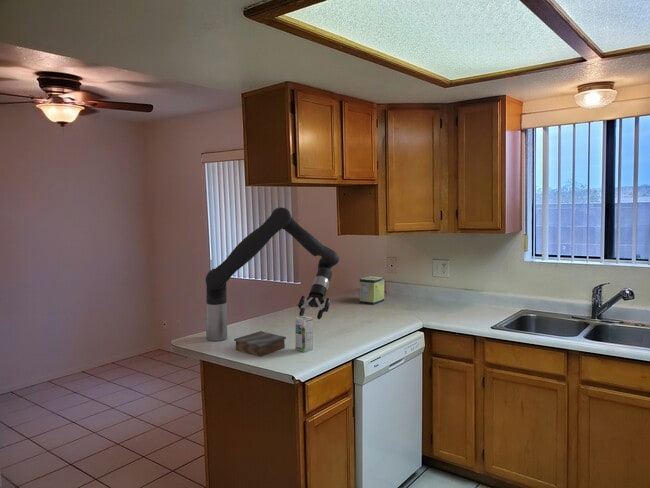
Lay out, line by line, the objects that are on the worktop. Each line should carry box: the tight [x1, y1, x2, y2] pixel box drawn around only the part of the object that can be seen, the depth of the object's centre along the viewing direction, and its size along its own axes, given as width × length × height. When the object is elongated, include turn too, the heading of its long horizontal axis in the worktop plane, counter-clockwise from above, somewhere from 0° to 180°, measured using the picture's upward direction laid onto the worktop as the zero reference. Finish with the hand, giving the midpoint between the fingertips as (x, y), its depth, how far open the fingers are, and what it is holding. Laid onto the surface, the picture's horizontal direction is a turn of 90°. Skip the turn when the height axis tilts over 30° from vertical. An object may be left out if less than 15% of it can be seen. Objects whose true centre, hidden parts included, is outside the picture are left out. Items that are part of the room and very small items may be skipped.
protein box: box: [359, 275, 385, 306], centre depth 311 cm, size 10×16×16 cm
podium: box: [233, 330, 287, 357], centre depth 213 cm, size 16×16×5 cm
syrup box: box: [294, 315, 314, 353], centre depth 211 cm, size 6×6×14 cm
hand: (309, 317), depth 216 cm, fingers open, 8 cm apart
